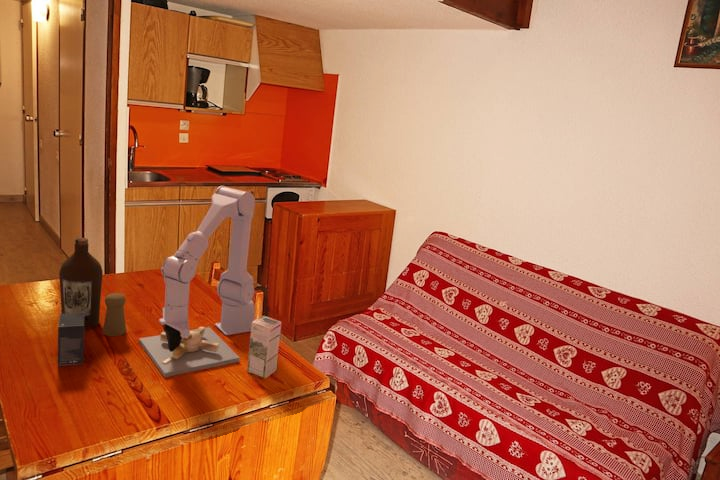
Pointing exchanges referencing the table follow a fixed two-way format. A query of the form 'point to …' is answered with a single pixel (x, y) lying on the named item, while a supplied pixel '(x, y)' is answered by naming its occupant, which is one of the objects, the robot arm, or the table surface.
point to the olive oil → (81, 284)
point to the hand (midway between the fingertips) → (173, 350)
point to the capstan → (192, 343)
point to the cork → (114, 315)
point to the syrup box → (264, 346)
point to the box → (71, 339)
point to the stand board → (188, 355)
